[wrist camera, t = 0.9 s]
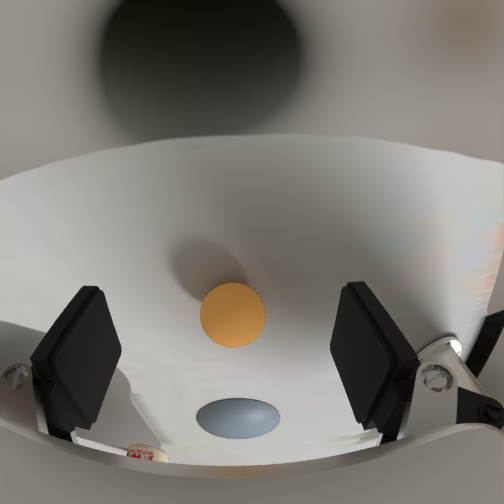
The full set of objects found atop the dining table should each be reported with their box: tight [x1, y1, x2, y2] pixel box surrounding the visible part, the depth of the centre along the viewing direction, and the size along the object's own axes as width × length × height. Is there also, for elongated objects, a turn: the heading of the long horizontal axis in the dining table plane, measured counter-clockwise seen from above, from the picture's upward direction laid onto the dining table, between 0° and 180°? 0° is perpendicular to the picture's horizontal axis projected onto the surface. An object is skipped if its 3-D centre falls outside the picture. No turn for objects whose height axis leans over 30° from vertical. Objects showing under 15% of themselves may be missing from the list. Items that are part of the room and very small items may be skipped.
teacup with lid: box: [127, 444, 168, 463], centre depth 38 cm, size 12×9×12 cm
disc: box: [197, 399, 280, 439], centre depth 38 cm, size 13×13×1 cm
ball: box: [200, 283, 266, 347], centre depth 25 cm, size 6×6×6 cm
